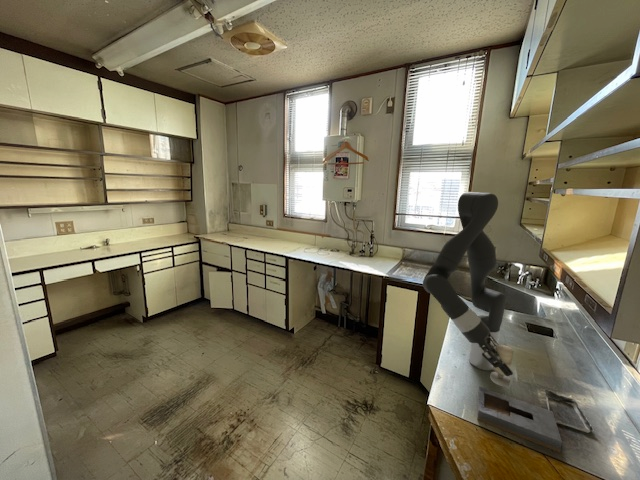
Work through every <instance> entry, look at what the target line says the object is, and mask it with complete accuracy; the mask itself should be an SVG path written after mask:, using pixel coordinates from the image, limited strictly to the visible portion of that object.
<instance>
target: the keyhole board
mask: <svg viewBox="0 0 640 480" xmlns="http://www.w3.org/2000/svg"><path fill="white" fill-rule="evenodd" d="M550 410H551V409H550ZM550 410H548V408H543V407H541V406H538V405H534V404H531V403H528V402H526V401H523V400H520V399H517V398H515V397H511V396H508V395H506V394H502V393H499V392H497V391H495V390H490V389H488V388H485V387H482V386H478V392H477V413H476V415H477V416H476V417H477V421H479V422H481V423H484V424H487V425H489V426H492V427H495V428H497V429H499V430H502V431H504V432H507V433H510V434H511V435H515V436H518V437H519V438H522V439H525V440H527V441H529V442H532V443H535V444H536V445H540V446H542V447H545V448H547V449H550V450H552V451H555V452H557V453H561V450H562V445H563V440H562V438H561V434H560V432H559V428H558V425H557V424H558V423H557V422H556V421H555V420H556V418H555V414H554V411H552V410H551V411H550Z"/></svg>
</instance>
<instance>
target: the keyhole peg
mask: <svg viewBox="0 0 640 480" xmlns="http://www.w3.org/2000/svg"><path fill="white" fill-rule="evenodd" d="M496 349H497V351H498V352H499V353H500V355H499V356H500V357H501V359H502V360H503V361H504V363H505V364H506V365H507V366H508V367H509V368H510V370H511V371H512V363H513V357H514V351H515V350H513V348H511V347H510V346H508V345H504V344H499V345H497V346H496ZM495 354H496V353H495ZM496 362H497V361H496ZM489 379H490V380H491V381H492V382H493V383H494V384H495V385H498V386H501V387H504V388H505V387H509V386H510V384H511V378H510V377H509V376H506V375H505V374H504V373H503V372H502V371H501V370H500V368H499V367H497V368H495V367H494V366H493V371H491V372H490V378H489Z"/></svg>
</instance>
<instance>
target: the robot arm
mask: <svg viewBox="0 0 640 480" xmlns="http://www.w3.org/2000/svg"><path fill="white" fill-rule="evenodd" d="M498 207H499V199H498V197H497V195H496V194H495V193H492V192H477V191H475V192H474V191H466V192H464V193H462V194H461V195H459V198H458V201H457V211H458V217H459V219H460V220H459V221H460V224H461V227H462V229H461V230H460V231H459V232H458V233H456V234H455V235H453V236H452V237H451V238H450V239H448V240H447V241H446V243H445V244H444V245H443V246H442V248H441V250H440V251H439V253H438V256H437V258H436V260H435V262H434V263H433V265H432V266H431V267H430V268H429V270H428V271H427V273H426V275H425V276H424V279H423V280H422V287H423V289H424V291H425V292H426V293H428V294H430V295H432V297H434V299H435V300H436V301H437V302H438V303H439V305H440V306H441V308H442V310H443V311H444V313H445V314H446V315H447V316H448V317H449V319H451V321H452V323H453V325H455V327H456V328H457V329H458V330H459V332H460V333H461V334H462V335H463V336H464V337H465V338H466V340H467V341H468V342H469V343H470V350H469V359H468V361H469V362H470V363H469V364H471V365H472V366H474V367H475V368H477V369H480V370H483V371H494V369H493V366H494V367H495V368H497V367H499V368H500V370H501V371H502V372H503V373H504V374H505V375H506V376H507V377H510V376H513V374H514V372H513V371H512V369H511V370H510V368H509V367H508V366H507V365H506V364H505V363H504V361H503V360H502V359H501V357H500V356H499V355H500V353H499V352H498V351H497V349H496V346H497V345H500V344H499V339H500V338H499V337H500V332H501V331H500V330H501V326H502V323H503V317H504V312H505V309H506V304H507V298H506V295H505V294H504V293H503V292H500V291H497V290H494V289H491V288H487V287H486V283H485V282H486V281H485V280H486V278H487V277H488V276H489V275H490V274H491V273H492V272H493V271H494V270H495V268H496V266H497V254H496V248H495V246H494V244H493V242H492V240H491V239H490V237H489V236H488V235H487V233H486V232H485V231H484V229H485V228H486V226H488V224H489V223H490V221H491V220H492V219H493V217H494V215H495V214H496V212H497V210H498ZM465 254H466V256H467V262H468V268H469V274H470V275H469V276H470V287H471V288H470V291H471V292H470V296H471V302H472V305H473V307H475V308H476V309H478V310H481V311H483V312H487V313H488V315H478V314H477V313H476V312H475V311H474V310H472V308H471V307H469V306H468V304H467V303H466V302H465V300H463V299H462V298H461V297H460V296H459V294H458V293H457V291H456V290H455V288H454V287H453V286H452V284H451V283H450V282H449V277H450V276H451V274H452V273H454V272H455V271H456V270H457V269H458V267H459V265H460V263H461V262H462V260H463V257H464V256H465ZM495 353H496V354H495ZM496 361H497V362H496Z"/></svg>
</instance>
